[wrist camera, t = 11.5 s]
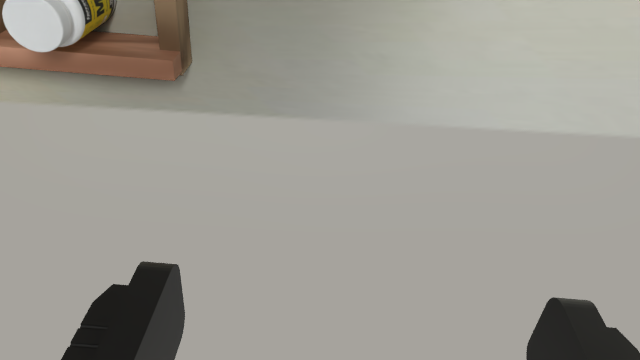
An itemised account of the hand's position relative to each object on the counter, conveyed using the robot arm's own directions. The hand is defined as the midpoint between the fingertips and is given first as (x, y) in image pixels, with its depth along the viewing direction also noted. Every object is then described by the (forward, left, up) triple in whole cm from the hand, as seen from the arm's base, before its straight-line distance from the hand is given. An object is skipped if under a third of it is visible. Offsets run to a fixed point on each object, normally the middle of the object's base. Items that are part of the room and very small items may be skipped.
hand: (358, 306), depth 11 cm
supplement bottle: (+3, -21, -33) cm, 39 cm away
